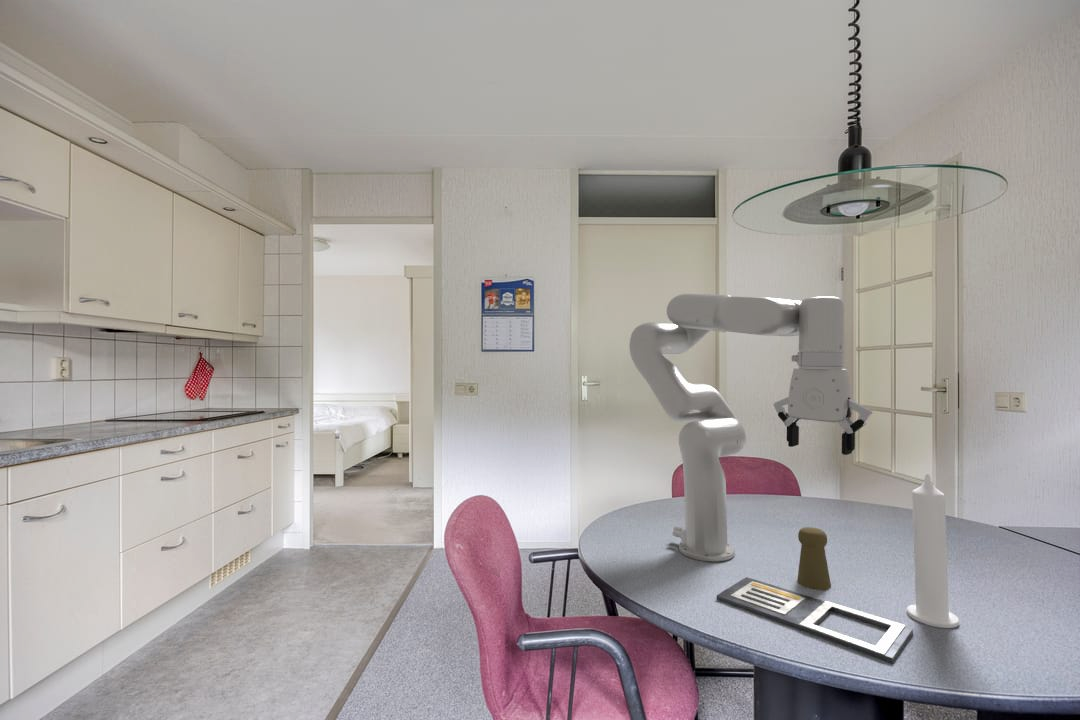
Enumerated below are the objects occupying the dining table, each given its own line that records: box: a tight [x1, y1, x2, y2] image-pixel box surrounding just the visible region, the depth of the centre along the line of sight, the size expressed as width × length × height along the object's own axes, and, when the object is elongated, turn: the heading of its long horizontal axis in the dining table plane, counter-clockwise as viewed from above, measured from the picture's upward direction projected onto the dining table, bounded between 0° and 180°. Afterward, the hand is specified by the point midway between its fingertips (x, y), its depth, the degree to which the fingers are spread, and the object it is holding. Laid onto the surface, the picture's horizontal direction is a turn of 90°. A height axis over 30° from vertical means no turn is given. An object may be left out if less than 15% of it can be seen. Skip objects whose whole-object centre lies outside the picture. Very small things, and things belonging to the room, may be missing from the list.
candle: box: [906, 473, 960, 629], centre depth 86 cm, size 7×7×25 cm
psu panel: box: [716, 576, 914, 664], centre depth 87 cm, size 28×12×1 cm, turn 41°
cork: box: [796, 526, 832, 591], centre depth 100 cm, size 6×6×11 cm
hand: (819, 449), depth 96 cm, fingers open, 9 cm apart
